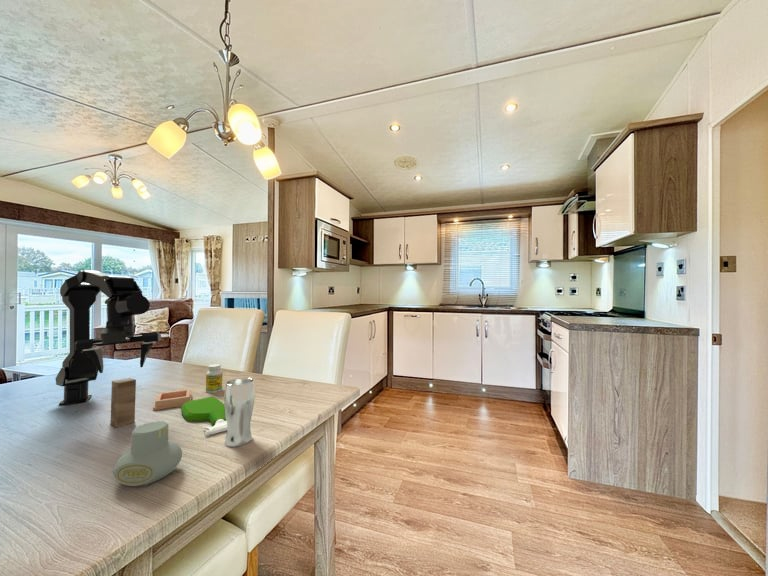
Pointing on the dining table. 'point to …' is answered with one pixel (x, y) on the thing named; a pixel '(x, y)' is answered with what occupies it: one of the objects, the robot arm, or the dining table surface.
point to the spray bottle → (206, 413)
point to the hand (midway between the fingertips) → (122, 370)
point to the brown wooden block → (123, 402)
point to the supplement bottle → (214, 379)
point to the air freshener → (148, 456)
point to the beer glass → (238, 410)
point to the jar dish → (172, 399)
